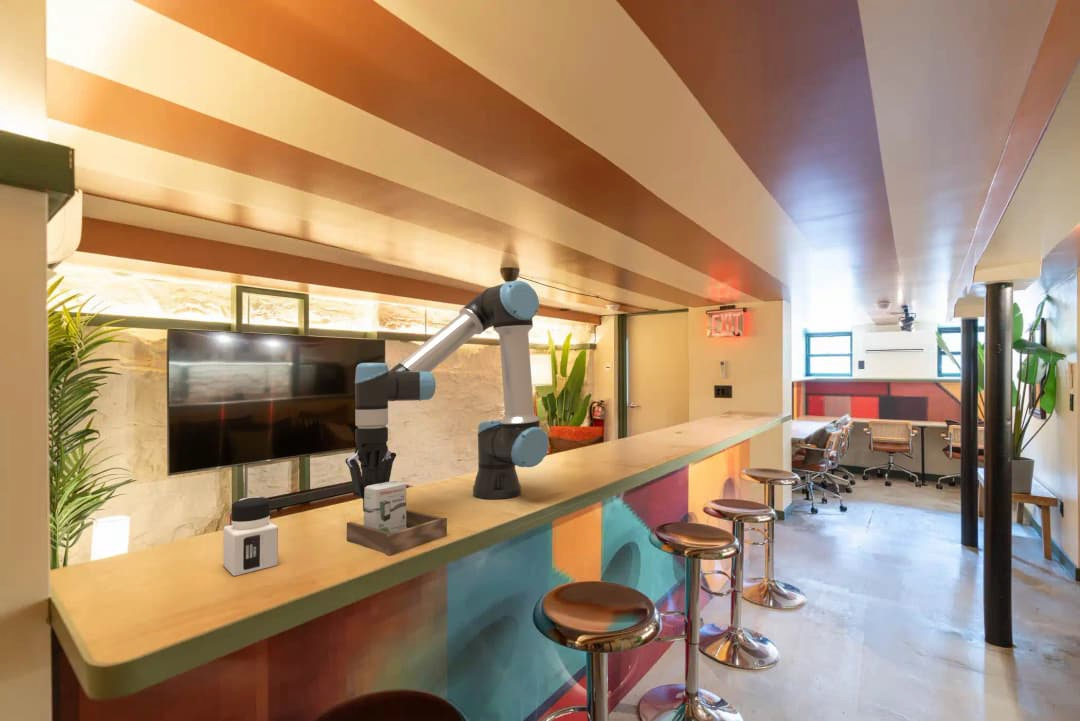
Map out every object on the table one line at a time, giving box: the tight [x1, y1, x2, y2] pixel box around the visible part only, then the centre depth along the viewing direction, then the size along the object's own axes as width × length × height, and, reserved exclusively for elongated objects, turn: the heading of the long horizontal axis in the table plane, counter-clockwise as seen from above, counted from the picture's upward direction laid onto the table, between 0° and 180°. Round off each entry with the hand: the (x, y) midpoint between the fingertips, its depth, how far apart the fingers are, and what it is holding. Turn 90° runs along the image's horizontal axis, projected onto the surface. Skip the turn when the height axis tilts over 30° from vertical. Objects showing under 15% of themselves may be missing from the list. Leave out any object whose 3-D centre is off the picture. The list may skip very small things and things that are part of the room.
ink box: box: [363, 480, 407, 533], centre depth 115 cm, size 9×5×12 cm, turn 143°
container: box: [222, 496, 279, 577], centre depth 97 cm, size 8×8×13 cm
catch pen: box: [346, 509, 448, 557], centre depth 112 cm, size 16×16×4 cm
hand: (371, 525), depth 118 cm, fingers closed
